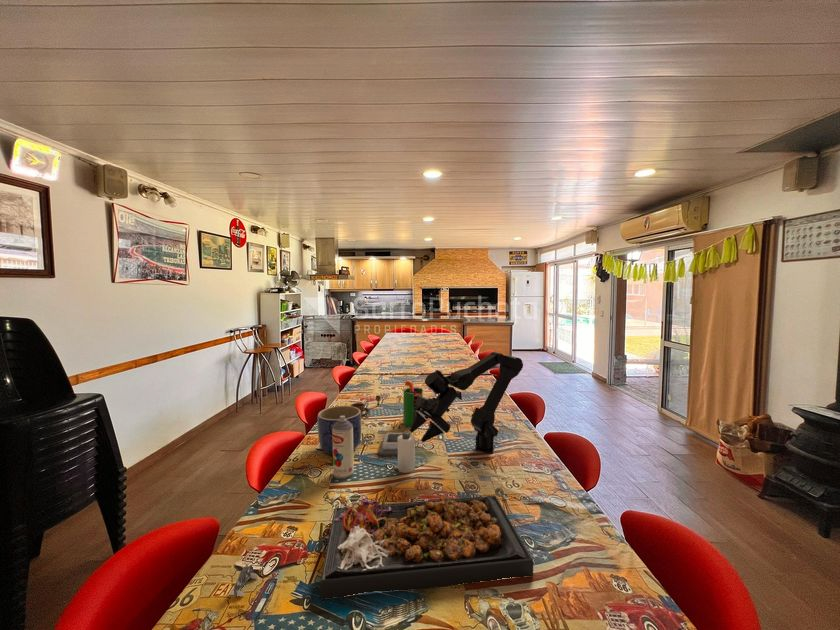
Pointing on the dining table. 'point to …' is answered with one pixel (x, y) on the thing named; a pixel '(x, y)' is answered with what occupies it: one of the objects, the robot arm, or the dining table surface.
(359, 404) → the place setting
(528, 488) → the dining table surface
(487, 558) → the food platter
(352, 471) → the aerosol can
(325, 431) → the planter
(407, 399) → the motor
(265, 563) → the toy shark
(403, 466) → the white bottle
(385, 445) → the grey square tray
